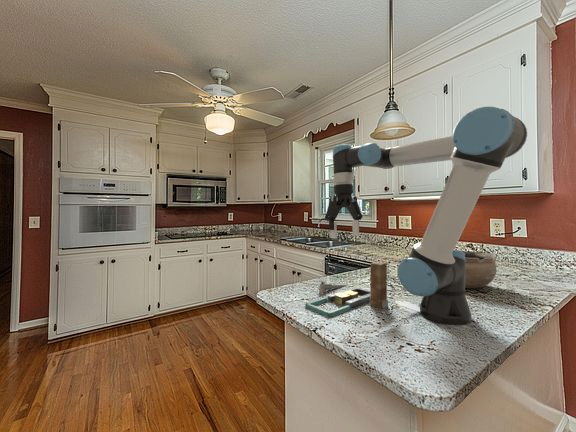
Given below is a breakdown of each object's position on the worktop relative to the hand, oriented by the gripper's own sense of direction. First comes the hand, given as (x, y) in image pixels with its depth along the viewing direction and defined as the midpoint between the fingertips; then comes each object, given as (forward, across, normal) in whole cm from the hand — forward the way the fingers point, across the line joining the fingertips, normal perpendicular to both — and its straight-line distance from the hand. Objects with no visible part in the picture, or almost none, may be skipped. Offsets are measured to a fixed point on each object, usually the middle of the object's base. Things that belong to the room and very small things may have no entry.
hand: (345, 237), depth 109 cm
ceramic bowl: (+26, -56, +23) cm, 66 cm away
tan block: (+24, +7, +3) cm, 25 cm away
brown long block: (+26, -1, +14) cm, 29 cm away
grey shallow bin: (+25, +1, +4) cm, 26 cm away
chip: (+24, +2, +4) cm, 25 cm away
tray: (+26, +15, +3) cm, 30 cm away
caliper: (+26, -5, -10) cm, 28 cm away
